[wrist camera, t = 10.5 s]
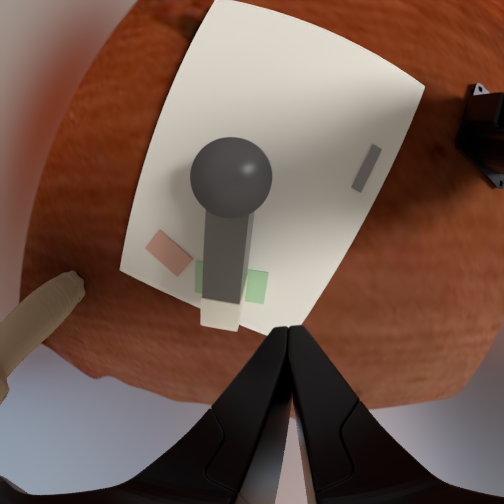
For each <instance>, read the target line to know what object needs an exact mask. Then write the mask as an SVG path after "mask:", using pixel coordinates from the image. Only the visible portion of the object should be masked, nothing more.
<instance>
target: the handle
mask: <svg viewBox="0 0 504 504" xmlns="http://www.w3.org/2000/svg"><path fill="white" fill-rule="evenodd" d="M84 295H85V290H84V281H83V279H82V278H80V277H79V276H78V275H77V273H76V272H75V271H73V270H71V271H69V272H64V273H62V274H60V275H58V276H57V277H55V278H53V279H51V280H49V281H48V282H46V283H45V284H43V285H42V286H40V287H39V288H37V289H36V290H35V291H34V292H32V293H31V294H30V295H28V296H27V297H26V298H25V299H24V300H23V301H22V302H21V303H20V304H19V305H18V306H17V307H16V308H15V309H14V310H13V311H12V312H11V313H10V314H9V315H8V316H7V317H6V318H5V319H4V320H3V321H2V322H1V323H0V404H1V403H2V402H3V401H4V399H5V398H6V397H7V394H8V392H9V387H8V384H7V377H8V376H9V375H10V373H11V372H12V371H13V370H14V369H15V368H16V367H17V366H18V365H19V364H20V363H21V362H22V361H23V360H24V359H25V358H26V357H27V356H28V355H29V354H30V353H31V352H32V351H33V350H34V349H35V348H36V347H37V346H38V345H39V344H41V343H42V342H43V341H44V340H45V339H46V338H47V337H48V336H49V335H50V334H51V333H53V331H54V330H55V329H56V328H57V327H58V326H59V325H60V324H61V323H62V322H63V321H64V320H65V318H66V317H67V316H68V315H69V314H70V313H71V311H72V310H73V309H74V307H75V306H76V304H77V302H80V301H81V300H82V298H83V297H84Z"/></svg>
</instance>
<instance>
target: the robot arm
mask: <svg viewBox="0 0 504 504" xmlns="http://www.w3.org/2000/svg"><path fill="white" fill-rule="evenodd" d="M478 88H479V89H480V91H479V89H478ZM460 142H461V143H462V147H461V146H460ZM455 146H456V148H457V150H458V151H460V152H461V153H462V154H463V155H464V156H465V157H466V158H467V159H468V160H470V161H471V162H472V163H473V164H474V165H475V166H476V167H477V168H478V169H479V170H480V171H481V172H482V173H483V174H484V175H485V176H486V177H487V178H488V179H489V180H490V181H491V182H492V183H493V184H494V185H495V187H496V188H498V189H503V187H504V93H503V92H499V93H489V92H488V91H487V90H486V89H485V88H484V87H483V86H482V85H481V84H480V83H476V84H474V85H473V89H472V93H471V96H469V99H468V102H467V105H466V109H465V112H464V115H463V118H462V124H461V127H460V129H459V132H458V135H457V137H456V140H455ZM499 183H500V185H499ZM292 397H293V406H294V412H295V419H296V425H297V432H298V438H299V445H300V451H301V459H302V465H303V473H304V480H305V487H306V494H307V502H308V504H504V497H500V496H494V495H489V494H484V493H480V492H476V491H472V490H468V489H464V488H460V487H457V486H454V485H450V484H448V483H446V482H444V481H442V480H440V479H438V478H437V477H436V476H434V475H433V474H431V473H430V472H429V471H428V470H427V469H426V468H425V467H424V466H422V465H421V464H420V463H419V462H418V461H417V460H416V459H415V458H414V457H413V456H412V455H411V454H409V453H408V452H407V451H406V450H405V449H404V448H403V447H402V446H401V445H400V444H398V442H396V440H395V439H394V438H393V437H392V436H391V435H390V434H389V433H388V432H387V431H386V430H385V429H384V428H383V427H382V426H381V425H380V424H379V423H378V421H377V420H376V419H375V418H374V417H373V415H372V414H371V413H370V412H369V410H368V409H367V408H366V406H365V405H364V404H363V403H362V401H360V399H359V397H358V396H357V395H356V394H355V392H354V391H353V390H352V388H351V387H350V386H349V384H348V383H347V382H346V380H345V379H344V378H343V376H342V375H341V374H340V372H339V371H338V370H337V368H336V367H335V366H334V365H333V363H332V362H331V361H330V359H329V358H328V357H327V355H326V354H325V353H324V351H323V350H322V349H321V347H320V346H319V345H318V343H317V342H316V341H315V339H314V338H313V337H312V335H311V334H310V333H309V331H308V330H307V329H306V327H305V326H304V325H292V326H289V328H288V327H287V326H280V327H274V328H273V329H272V330H271V331H270V333H269V334H268V335H267V337H266V338H265V339H264V341H263V342H262V343H261V345H260V346H259V347H258V349H257V350H256V351H255V353H254V354H253V355H252V357H251V358H250V359H249V360H248V362H247V363H246V364H245V366H244V367H243V368H242V369H241V371H240V372H239V373H238V374H237V376H236V377H235V378H234V379H233V381H232V382H231V383H230V384H229V386H228V387H227V388H226V389H225V390H224V392H223V393H222V394H221V395H220V397H219V398H218V399H217V400H216V401H215V403H214V404H213V405H212V406H211V409H208V411H207V412H206V413H205V414H204V415H203V417H202V418H201V419H200V420H199V421H198V422H197V423H196V424H195V425H194V426H193V427H192V428H191V430H190V431H189V432H188V433H187V434H185V435H184V437H182V438H181V439H180V440H179V441H178V442H177V443H176V444H175V445H174V446H172V447H171V448H170V449H169V450H168V451H166V452H165V453H164V454H163V455H162V456H160V457H159V458H158V459H157V460H155V461H154V462H153V463H152V464H150V465H149V466H148V467H147V468H146V469H144V470H143V471H141V472H140V473H139V474H137V475H136V476H135V477H133V478H131V479H130V480H128V481H126V482H124V483H122V484H119V485H116V486H113V487H110V488H105V489H98V490H92V491H85V492H77V493H67V494H55V495H31V494H28V493H27V492H25V491H24V490H22V489H21V488H19V487H18V486H16V485H15V484H14V483H12V482H11V481H9V480H8V479H6V478H4V477H2V476H0V504H275V499H276V494H277V489H278V484H279V478H280V473H281V468H282V462H283V456H284V450H285V444H286V438H287V432H288V424H289V418H290V411H291V403H292Z"/></svg>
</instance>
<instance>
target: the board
mask: <svg viewBox="0 0 504 504" xmlns="http://www.w3.org/2000/svg"><path fill="white" fill-rule="evenodd" d="M424 89H425V86H424V85H423V84H421V83H420V82H418V81H417V80H416V79H414V78H413V77H411V76H410V75H408V74H407V73H405V72H404V71H402V70H401V69H399V68H398V67H396V66H394V65H393V64H391V63H389V62H388V61H386V60H384V59H383V58H381V57H379V56H378V55H376V54H374V53H372V52H370V51H369V50H367V49H365V48H363V47H361V46H359V45H357V44H355V43H353V42H351V41H349V40H347V39H345V38H343V37H341V36H339V35H337V34H334V33H332V32H330V31H328V30H325V29H323V28H320V27H318V26H315V25H313V24H310V23H308V22H305V21H302V20H300V19H297V18H294V17H291V16H288V15H285V14H282V13H279V12H276V11H272V10H269V9H265V8H262V7H258V6H254V5H250V4H246V3H241V2H237V1H232V0H215V1H214V3H213V5H212V6H211V8H210V10H209V11H208V13H207V15H206V17H205V18H204V20H203V22H202V24H201V26H200V28H199V29H198V31H197V33H196V35H195V37H194V39H193V41H192V43H191V45H190V47H189V49H188V51H187V53H186V55H185V57H184V59H183V62H182V64H181V66H180V68H179V70H178V73H177V75H176V77H175V79H174V82H173V84H172V87H171V89H170V91H169V94H168V96H167V99H166V101H165V104H164V106H163V109H162V112H161V114H160V117H159V120H158V123H157V125H156V128H155V131H154V134H153V137H152V140H151V143H150V146H149V149H148V152H147V155H146V159H145V162H144V165H143V169H142V172H141V176H140V179H139V183H138V187H137V190H136V194H135V198H134V202H133V206H132V210H131V215H130V219H129V224H128V228H127V233H126V238H125V243H124V248H123V253H122V259H121V265H120V271H122V272H124V273H126V274H128V275H130V276H132V277H134V278H136V279H138V280H140V281H142V282H144V283H146V284H148V285H150V286H152V287H154V288H156V289H158V290H161V291H163V292H165V293H167V294H169V295H171V296H174V297H176V298H178V299H180V300H182V301H185V302H187V303H189V304H191V305H194V306H196V307H198V308H200V309H201V297H202V282H203V253H204V232H205V214H206V209H205V208H204V207H203V206H202V205H201V204H200V203H199V202H198V200H197V199H196V197H195V195H194V193H193V191H192V188H191V183H190V172H191V167H192V163H193V161H194V159H195V157H196V155H197V154H198V153H199V151H200V150H201V149H202V148H203V147H204V146H206V145H207V144H208V143H210V142H212V141H214V140H217V139H220V138H225V137H237V138H243V139H246V140H249V141H251V142H253V143H254V144H256V145H257V146H259V147H260V148H261V149H262V150H263V151H264V153H265V154H266V156H267V157H268V159H269V161H270V164H271V167H272V175H273V177H272V185H271V189H270V192H269V194H268V196H267V198H266V200H265V201H264V203H263V204H262V205H261V206H260V207H259V208H258V209H257V210H255V211H254V220H253V228H252V237H251V246H250V254H249V263H248V271H247V276H248V278H247V286H246V295H245V302H244V306H243V310H242V314H241V318H240V322H239V325H241V326H244V327H246V328H249V329H251V330H254V331H257V332H259V333H262V334H264V335H268V334H269V333H270V331H271V330H272V329H273V328H274V327H280V326H287V327H288V328H289V326H292V325H301V324H302V323H303V321H304V320H305V318H306V317H307V315H308V314H309V312H310V311H311V309H312V308H313V306H314V304H315V303H316V301H317V300H318V298H319V297H320V295H321V293H322V292H323V290H324V289H325V287H326V285H327V284H328V282H329V281H330V279H331V277H332V276H333V274H334V272H335V271H336V269H337V267H338V266H339V264H340V262H341V261H342V259H343V257H344V255H345V254H346V252H347V250H348V249H349V247H350V245H351V243H352V242H353V240H354V238H355V236H356V234H357V233H358V231H359V229H360V227H361V225H362V224H363V222H364V220H365V218H366V216H367V214H368V212H369V210H370V209H371V207H372V205H373V203H374V201H375V199H376V197H377V195H378V193H379V191H380V189H381V187H382V185H383V183H384V181H385V179H386V177H387V175H388V173H389V171H390V169H391V167H392V164H393V162H394V160H395V158H396V156H397V154H398V151H399V149H400V147H401V145H402V143H403V140H404V138H405V136H406V133H407V131H408V129H409V126H410V124H411V122H412V119H413V117H414V114H415V112H416V109H417V107H418V104H419V102H420V99H421V97H422V94H423V91H424Z"/></svg>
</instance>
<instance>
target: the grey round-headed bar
mask: <svg viewBox="0 0 504 504" xmlns="http://www.w3.org/2000/svg"><path fill="white" fill-rule="evenodd" d="M272 177H273V175H272V167H271V164H270V161H269V159H268V157H267V156H266V154H265V153H264V151H263V150H262V149H261V148H260V147H259V146H257V145H256V144H254V143H253V142H251V141H249V140H246V139H243V138H237V137H225V138H220V139H217V140H214V141H212V142H210V143H208V144H207V145H206V146H204V147H203V148H202V149H201V150H200V151H199V153H198V154H197V155H196V157H195V159H194V161H193V163H192V167H191V172H190V183H191V188H192V191H193V193H194V195H195V197H196V199H197V200H198V202H199V203H200V204H201V205H202V206H203V207H204V208H205V209H206V214H205V232H204V253H203V282H202V297H201V325H203V326H208V327H213V328H219V329H224V330H230V331H236V332H237V330H238V326H239V322H240V318H241V314H242V310H243V306H244V302H245V295H246V286H247V278H248V276H247V271H248V263H249V254H250V246H251V237H252V228H253V220H254V211H255V210H257V209H258V208H259V207H260V206H261V205H262V204H263V203H264V201H265V200H266V198H267V196H268V194H269V192H270V189H271V185H272Z"/></svg>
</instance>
